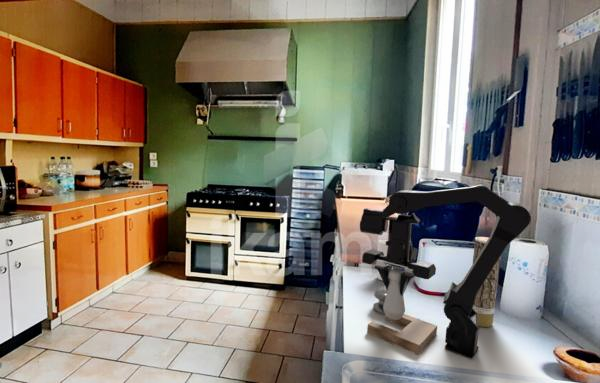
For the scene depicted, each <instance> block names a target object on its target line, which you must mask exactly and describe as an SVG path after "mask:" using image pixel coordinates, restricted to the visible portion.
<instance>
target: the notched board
mask: <svg viewBox="0 0 600 383" xmlns="http://www.w3.org/2000/svg"><path fill="white" fill-rule="evenodd" d="M384 320H386V321H388V322H390V323H393V324H396V325H399V326H400V327H403V329H401V331H398V330H396V329H394V328H391V327H388V326H386V325H384V324H381V323H378V322H376V321H373V320H372V321H370V322H369V323H368V324H367V328H366V329H367V330H366V333H367V334H368V335H371V336H373V337H375V338H378V339H380V340H383V341H385V342H388V343H390V344H392V345H394V346H396V347H399V348H401V349H404V350H406V351H408V352H411V353H413V354H416V355H418V356H419V355H420V354H421V353H422V352H423V351H424V349H425V348H426V347H428V345H429V344H430V343H431V341H432V340H433V339H434V338H435V337H436V336H437V334H438V325H436V324H433V323H431V322H428V321H425V320H422V319H420V318H417V317H414V316H411V315H408V314H406V313H404V314H403V316H402V318H401V319H398V320H394V319H389V318H388V317H387V316H386V315H385V314H384Z"/></svg>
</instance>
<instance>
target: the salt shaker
mask: <svg viewBox="0 0 600 383" xmlns="http://www.w3.org/2000/svg"><path fill="white" fill-rule="evenodd" d="M403 272H404V271H403V270H401V269H397V268H393V269H391V270H390V271H389V273H388V278H389V279H390V282H389V286H388V290H387V294H386V298H385V302H384V306H383V309H384V312H385V314H384V316H385V315H386V316H387V317H388V318H389V319H394V320H398V319H401V318H402V316H403V314H406V313H405V312H406V307H405V305H406V304H405V300H404V299H405V298H404V294H403V295H402V296H401V294H400V279H401V274H402V273H403Z"/></svg>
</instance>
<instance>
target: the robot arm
mask: <svg viewBox="0 0 600 383" xmlns="http://www.w3.org/2000/svg"><path fill="white" fill-rule="evenodd" d="M468 203H471V204H472V203H479V204H480V205H482V206H484V207H485V208H486V209H488V210H489V211H490V212H492V213H493V214H494V215H495V216H496V218H495V220H494V224H493V227H492V230H491V232H490V233H491V234H490V235H489V239H488V240H487V242H486V244H485V245H484V247H483V248H482V250H481V252H480V253H479V255H478V257H477V258H476V260H475V261H474V263H473V262H472V265H471V267H470V268H469V269H468V271H467V273H466V275H465V276H464V277H463V279H462V280H461V282H459V283H458V284H456V283H455V282H453V281H452V282H451V284H450V287H449V289H448V290H447V291H446V292H444V295H443V296H444V297H443V303H442V304H444V306H443V313H444V315H445V317H446V318H447V319H448V320H449V321H450V322H448V326H447V327H446V330H445V339H444V342H445V345H444V348H445V349H446V350H448V351H450V352H453V353H456V354H458V355H461V356H463V357H466V358H469V359H474V357H475V356H476V354H477V352H478V351H479V348H480V347H479V346H478V340H479V333H480V331H479V330H480V326H478V314H477V313H476V312H475V311H474V309H473V305H474V302H475V298H476V295H477V292H478V291H479V289H480V288H481V286H482V284H483V283H484V281H485V280H486V278H487V276H488V275H489V273H490V272H491V270H492V269H493V267H494V265H495V264H496V262H497V261H498V259H499V258H500V256H501V257H502V254H503V253H504V251H505V250H506V248H507V246H508V245H509V244H510V243H512V242H513V241H514V240H515V239H516V238H518V237H519V236H520V234H522V232H523V231H525V230H526V228H528V226H529V225H530V224H531V220H532V217H531V214H530V212H529V210H527V208H526V207H525V206H523V205H522V204H520V203H518V202H515V201H513V202H512V201H511V202H509V201H508V200H506V199H505V198H504V197H502V196H500V195H499V194H497V193H496V192H494V191H492V190H491V189H489V187H488V186H487V185H485V184H477V185H475V186H467V187H465V186H464V187H458V188H449V189H448V188H447V189H440V190H431V191H430V190H429V191H420V190H405V189H403V190H399V191H396V192H394V193H393V194H391V195H390V197H389V200H388V205H387V206H386V207H384V209H382V210H377V209H372V208H368V207H367V208H363V211H362V212H363V213H362V215H361V219H360V221H359V230H360V232H361V233H363V234H372V235H379V236H383V234H384V233H386V232H387V231H388V232H387V233H388V235H387V236H388V237H387V240H388V241H386V245H388V247H387V256H384V253H383V252H382V251H377V249H374V248H373V249H368V250H367V251H364V253H362V255H361V262H362V263H363V264H368V265H373V264H374V263H375V262H376V263H375V264H376V265H375V266H374V269H375V270H376V271H377V270H378V272H379V274H380V276H381V278H382V280H383V281H382V283H383V285H384V288H385V290H388V286H389V282H390V279H389V278H388V273H389V271H390V270H391V269H392V267H397V268H402V269H404V271H403V273H402V274H401V279H400V294H401V296H402V295H403V296H404V294H405V292H406V290H407V288H408V285H409V284H410V282H411V281H412V279H414V278H415V277H416V278H419V279H424V280H429V279H431V278H432V277H434V276H435V275H436V271H437V268H436V264H434V263H432V262H428V261H423V260H419V261H418V262H411V261H413V260H414V261H416V259H417V256H418V248H416V247H414V246H413V241H411V236H412V224H415V225H416V224H419V223H420V221H421V220H420V218H418V217H417V216H416V214H415V213H414V211H418V210H420V209H421V210H422V209H424V208H428V207H437V206H439V207H440V206H447V205H449V206H450V205H456V204H457V205H458V204H459V205H460V204H468ZM411 212H413V213H412V214H410V215H407V213H411ZM394 214H397V216H393V215H394ZM500 259H501V258H500Z"/></svg>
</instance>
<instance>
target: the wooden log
mask: <svg viewBox="0 0 600 383" xmlns="http://www.w3.org/2000/svg"><path fill="white" fill-rule="evenodd" d="M489 237H490V236H489ZM489 237H488V236H476V237H475V239H474V249H473V256H472V257H473V258H472V264H473V263H474V261H475V260H476V258H477V257H478V255H479V253H480V252H481V250H482V248H483V247H484V245H485V244H486V242H487V240H488V239H489ZM501 257H502V255H501V256H500V258H499V259H498V261H497V262H496V264H495V265H494V267H493V269H492V270H491V272H490V273H489V275H488V276H487V278H486V280H485V281H484V283H483V284H482V286H481V288H480V289H479V291H478V292H477V295H476V298H475V302H474V305H473V309H474V311H475V312H476V313H477V314H478V327H483V328H489V327H492V325H493V324H494V316H495V307H496V298H497V290H498V282H499V272H500V267H501V266H500V265H501Z"/></svg>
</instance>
